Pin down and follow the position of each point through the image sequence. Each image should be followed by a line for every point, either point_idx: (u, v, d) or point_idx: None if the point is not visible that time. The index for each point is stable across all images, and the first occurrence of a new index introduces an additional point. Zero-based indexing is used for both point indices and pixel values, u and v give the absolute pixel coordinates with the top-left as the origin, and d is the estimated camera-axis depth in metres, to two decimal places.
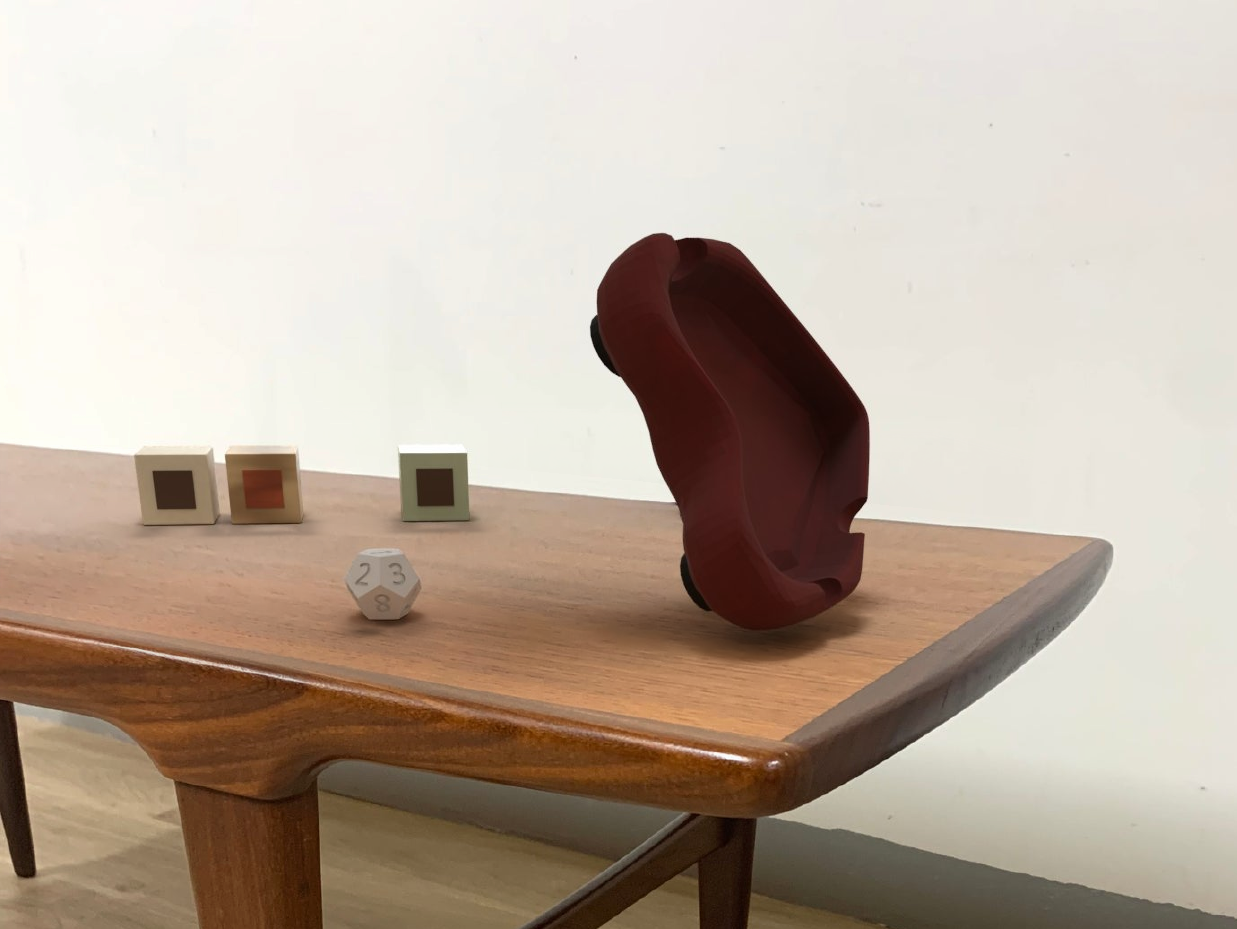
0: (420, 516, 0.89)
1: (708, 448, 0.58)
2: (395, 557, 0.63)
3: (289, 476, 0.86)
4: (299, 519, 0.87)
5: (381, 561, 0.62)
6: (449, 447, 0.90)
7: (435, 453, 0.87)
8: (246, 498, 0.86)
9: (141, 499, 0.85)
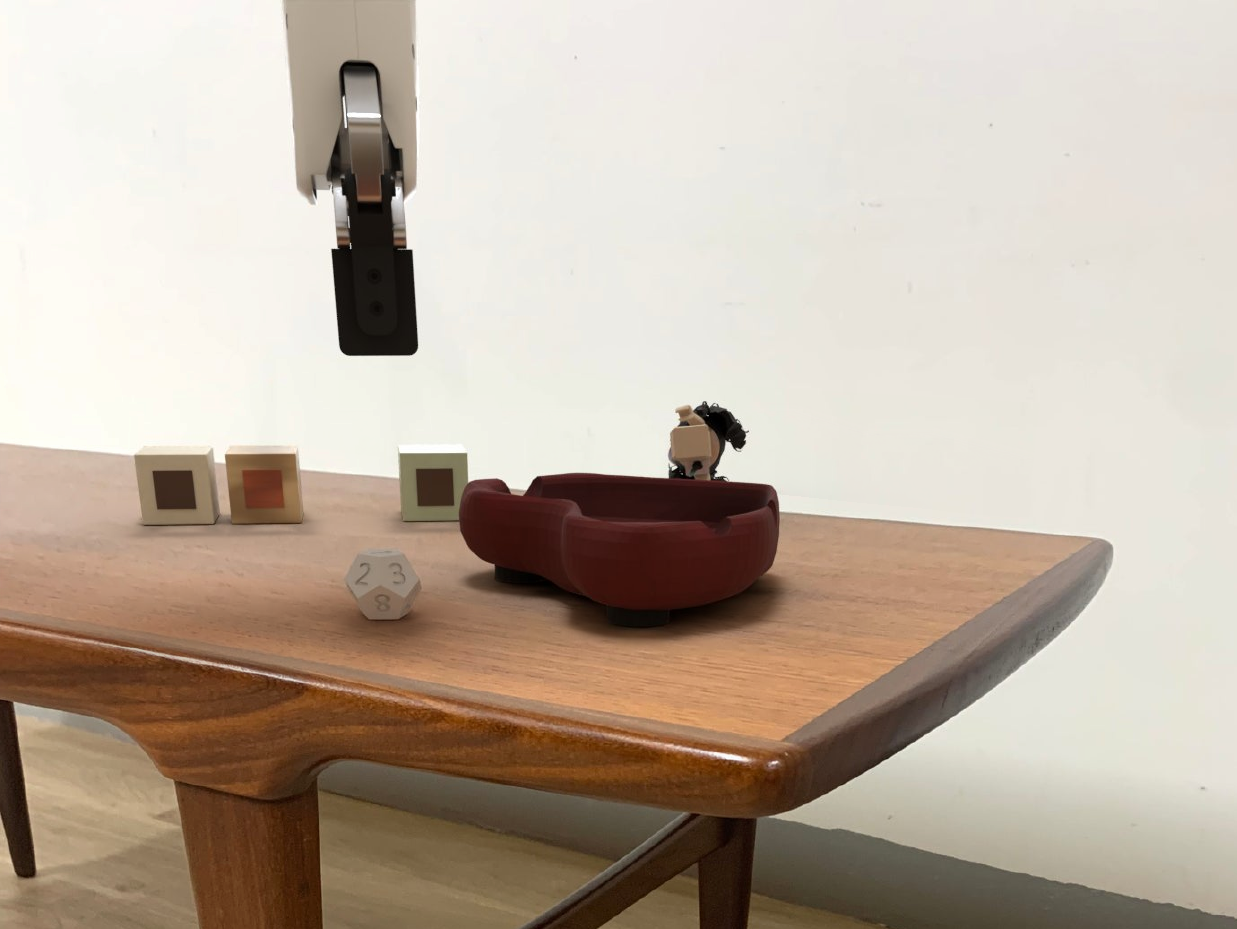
0: (420, 516, 0.89)
1: (560, 529, 0.66)
2: (395, 557, 0.63)
3: (289, 476, 0.86)
4: (299, 519, 0.87)
5: (381, 561, 0.62)
6: (449, 447, 0.90)
7: (435, 453, 0.87)
8: (246, 498, 0.86)
9: (141, 499, 0.85)
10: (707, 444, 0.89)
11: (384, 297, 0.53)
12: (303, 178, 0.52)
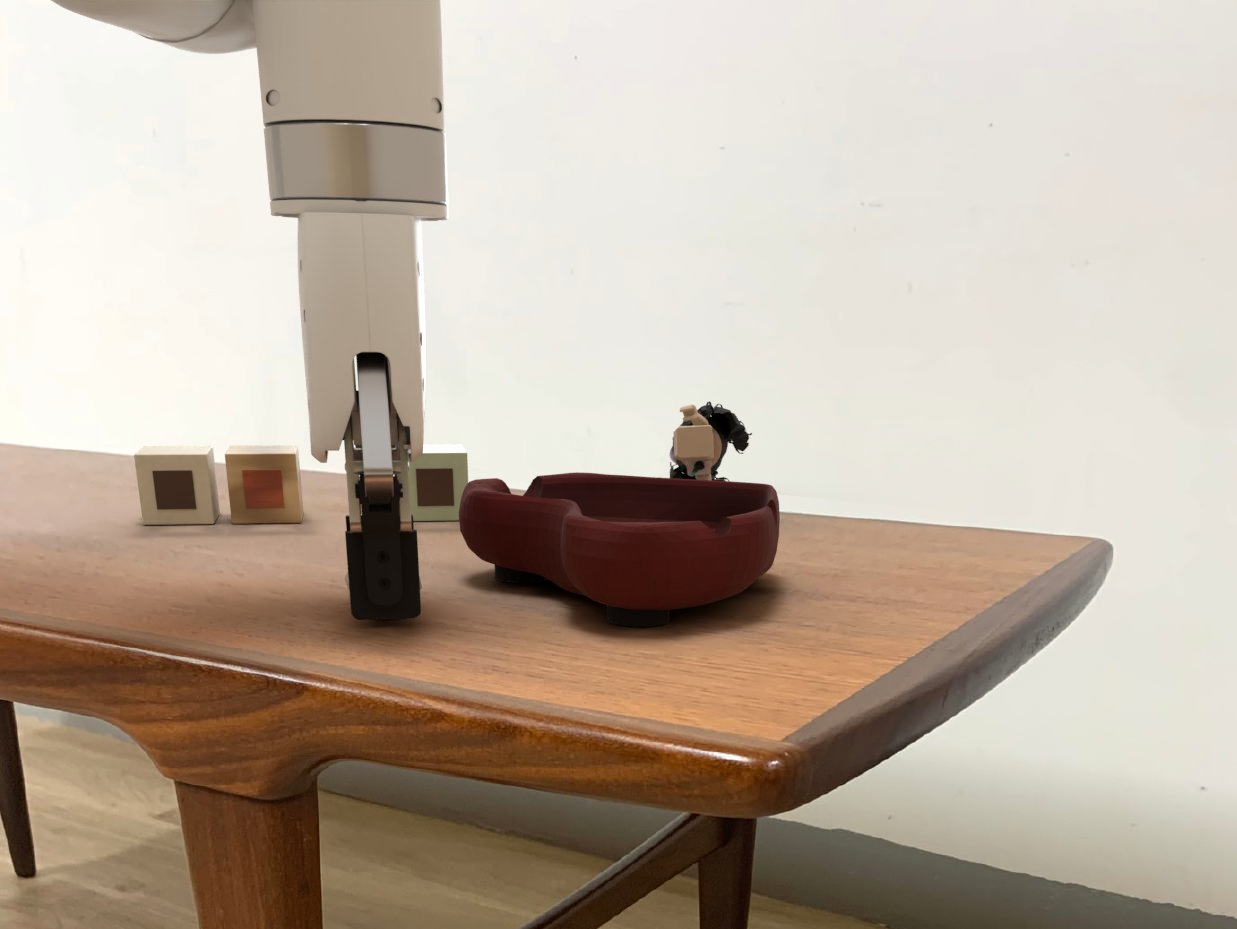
0: (420, 516, 0.89)
1: (560, 529, 0.66)
2: None
3: (289, 476, 0.86)
4: (299, 519, 0.87)
5: None
6: (449, 447, 0.90)
7: (435, 453, 0.87)
8: (246, 498, 0.86)
9: (141, 499, 0.85)
10: (710, 445, 0.89)
11: (391, 574, 0.61)
12: (317, 452, 0.56)
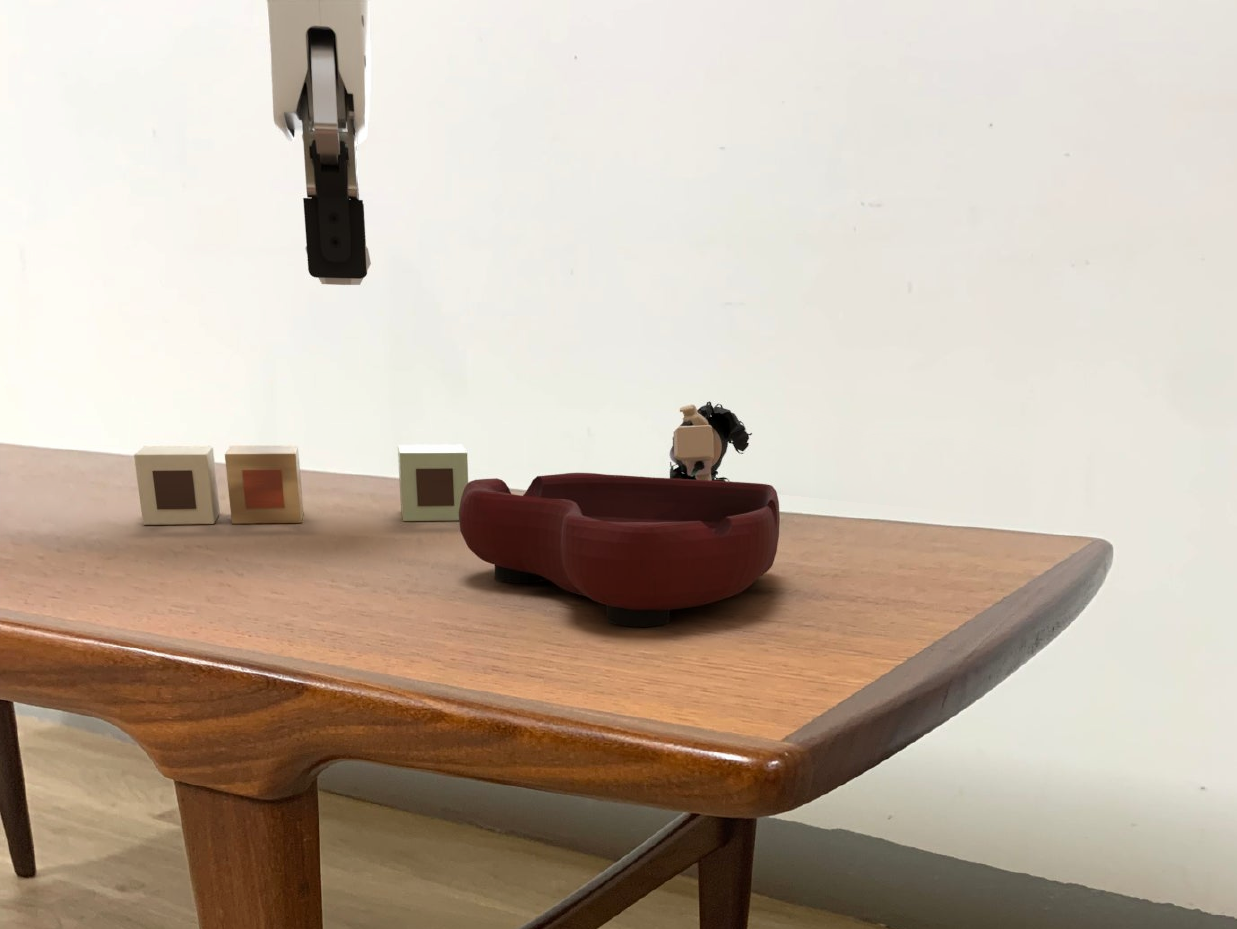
0: (420, 516, 0.89)
1: (560, 529, 0.66)
2: None
3: (289, 476, 0.86)
4: (299, 519, 0.87)
5: None
6: (449, 447, 0.90)
7: (435, 453, 0.87)
8: (246, 498, 0.86)
9: (141, 499, 0.85)
10: (710, 445, 0.89)
11: (341, 234, 0.74)
12: (278, 115, 0.70)
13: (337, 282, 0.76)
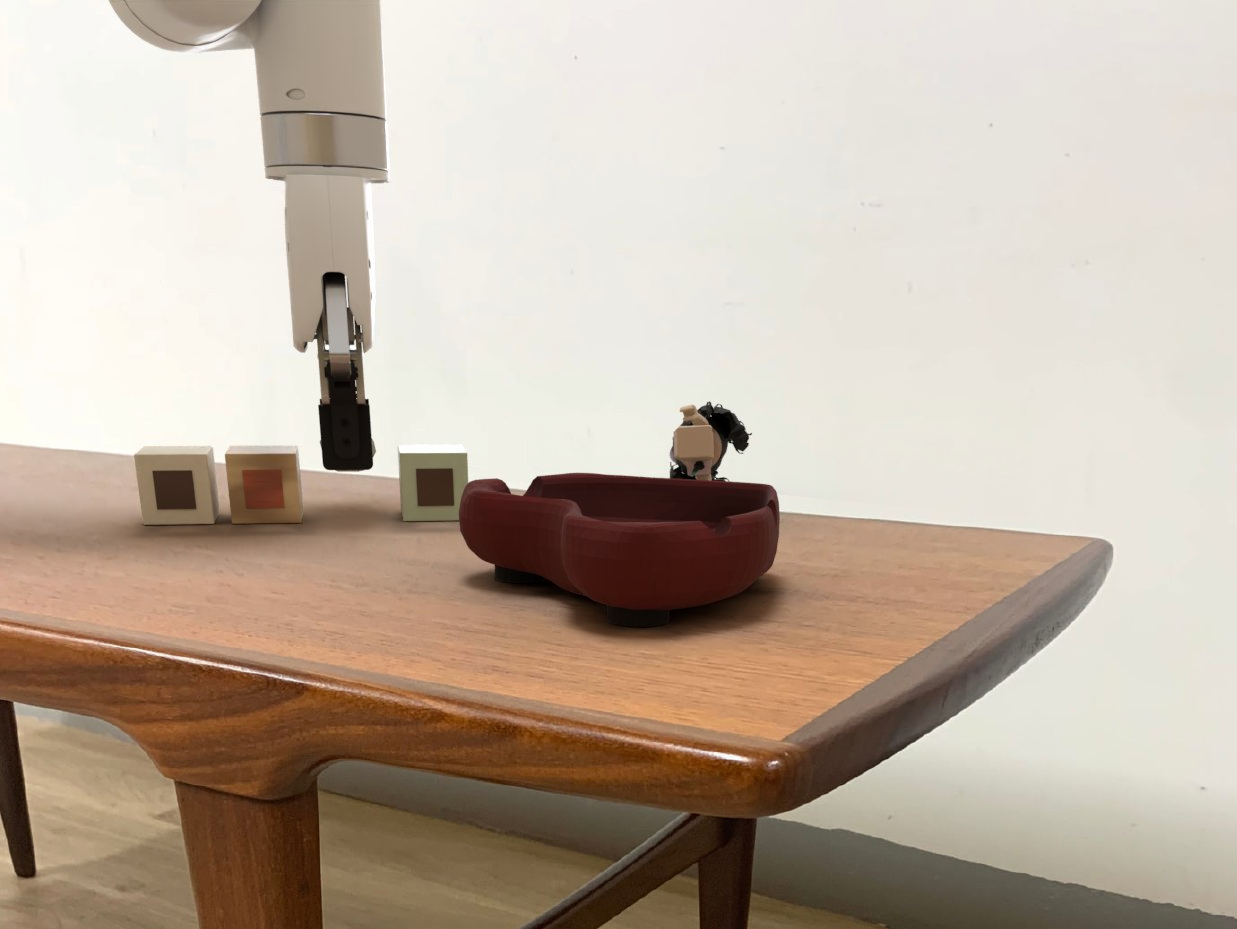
0: (420, 516, 0.89)
1: (560, 529, 0.66)
2: None
3: (289, 476, 0.86)
4: (299, 519, 0.87)
5: None
6: (449, 447, 0.90)
7: (435, 453, 0.87)
8: (246, 498, 0.86)
9: (141, 499, 0.85)
10: (710, 445, 0.89)
11: (351, 435, 0.85)
12: (298, 343, 0.81)
13: (347, 470, 0.88)
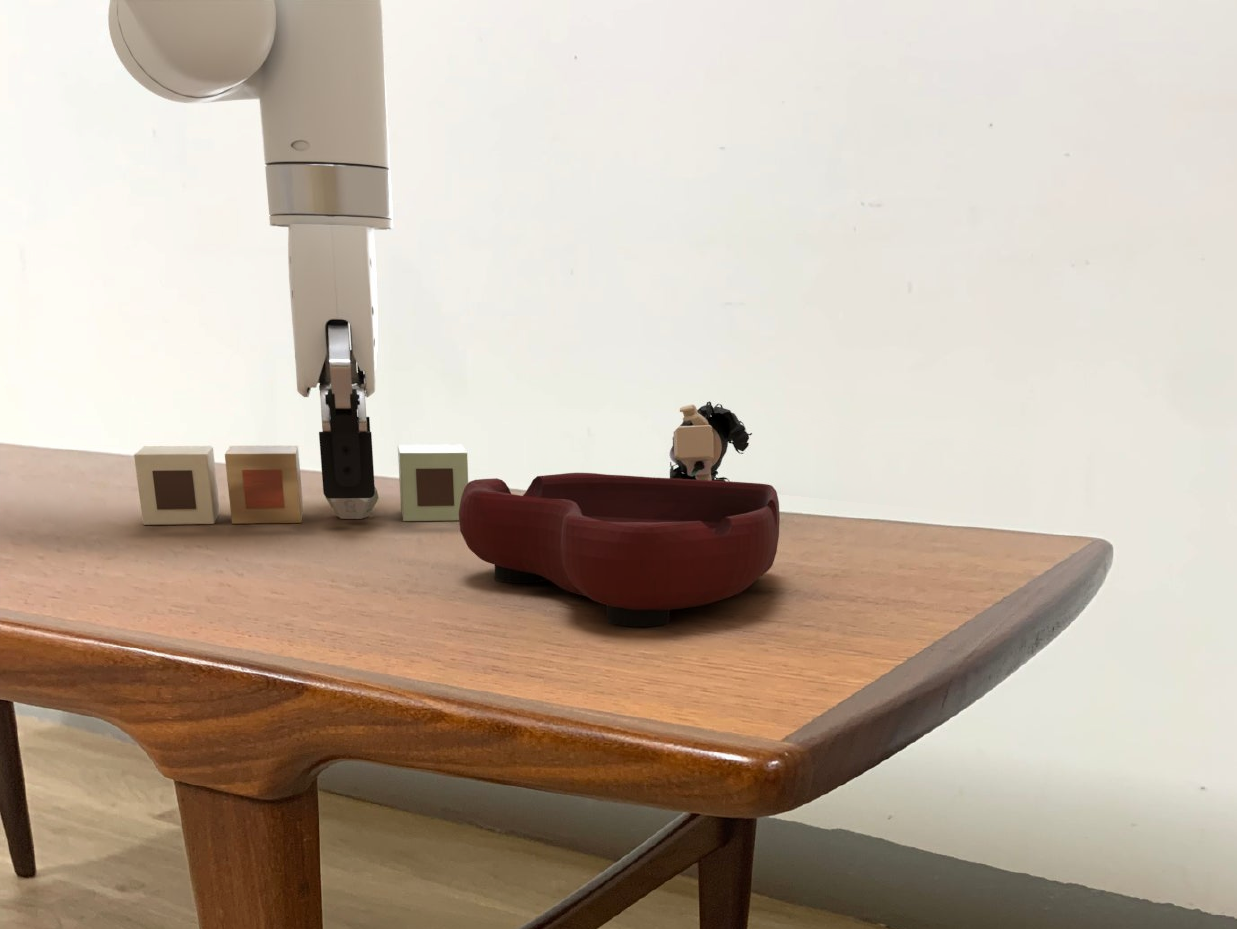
0: (420, 516, 0.89)
1: (560, 529, 0.66)
2: None
3: (289, 476, 0.86)
4: (299, 519, 0.87)
5: None
6: (449, 447, 0.90)
7: (435, 453, 0.87)
8: (246, 498, 0.86)
9: (141, 499, 0.85)
10: (710, 445, 0.89)
11: (352, 463, 0.83)
12: (301, 389, 0.82)
13: (350, 517, 0.89)
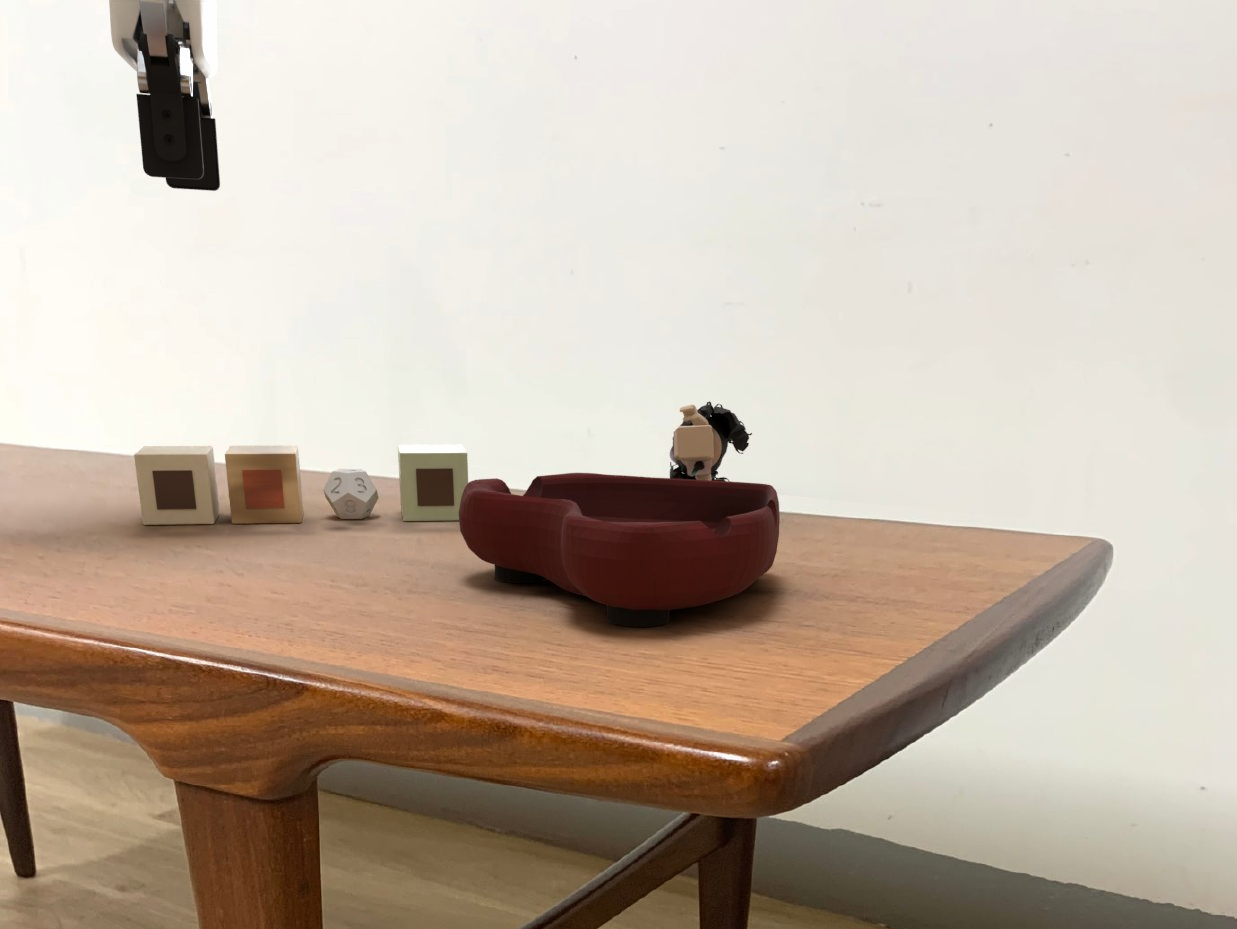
0: (420, 516, 0.89)
1: (560, 529, 0.66)
2: (359, 473, 0.88)
3: (289, 476, 0.86)
4: (299, 519, 0.87)
5: (349, 475, 0.88)
6: (449, 447, 0.90)
7: (435, 453, 0.87)
8: (246, 498, 0.86)
9: (141, 499, 0.85)
10: (710, 445, 0.89)
11: (175, 131, 0.73)
12: (116, 40, 0.72)
13: (350, 517, 0.89)
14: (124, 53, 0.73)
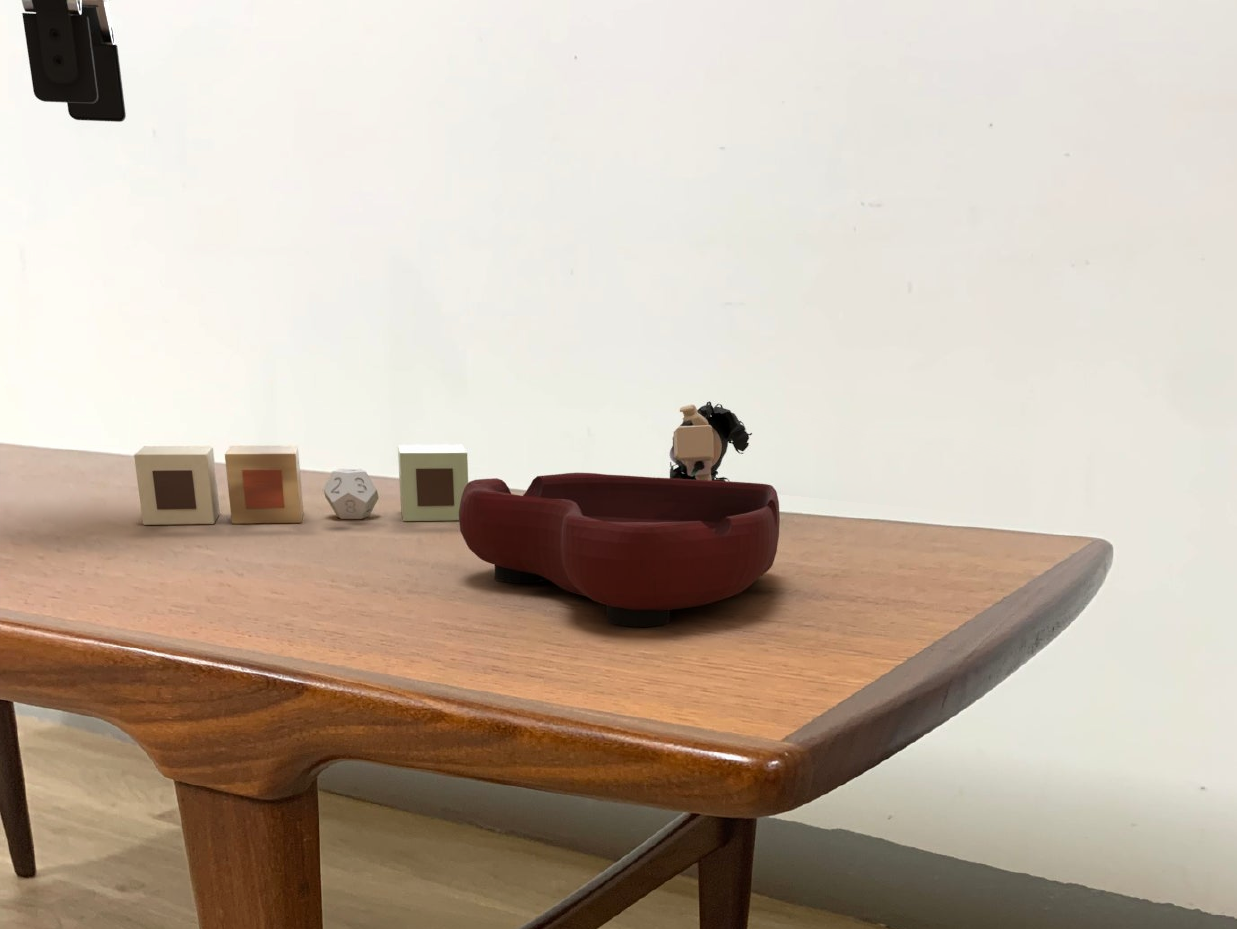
0: (420, 516, 0.89)
1: (560, 529, 0.66)
2: (359, 473, 0.88)
3: (289, 476, 0.86)
4: (299, 519, 0.87)
5: (349, 475, 0.88)
6: (449, 447, 0.90)
7: (435, 453, 0.87)
8: (246, 498, 0.86)
9: (141, 499, 0.85)
10: (710, 445, 0.89)
11: (64, 52, 0.70)
12: None
13: (350, 517, 0.89)
14: None
